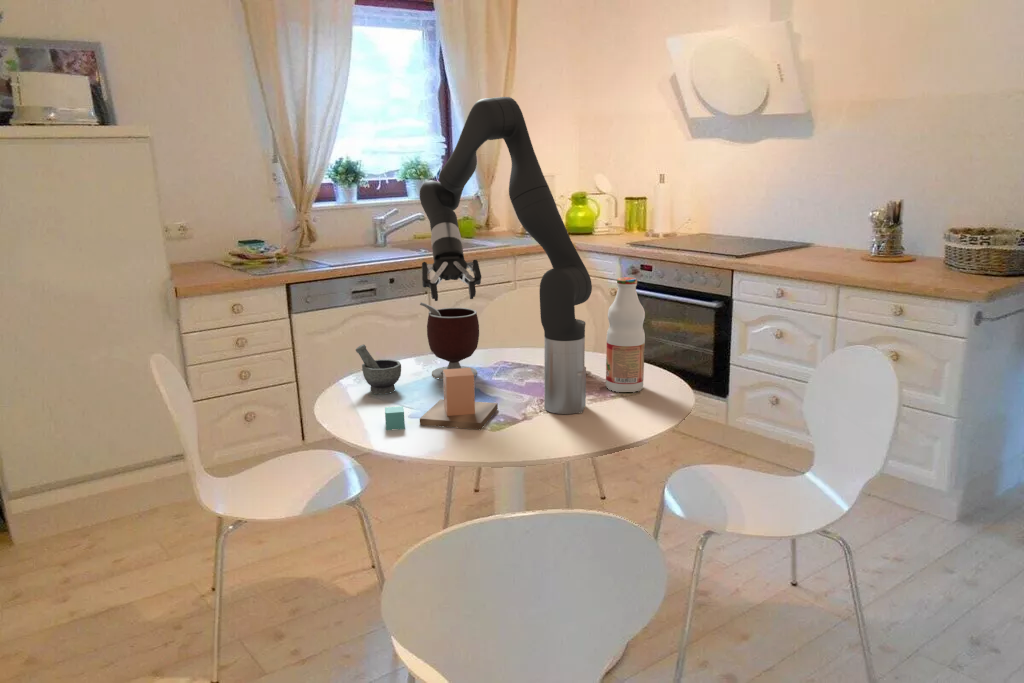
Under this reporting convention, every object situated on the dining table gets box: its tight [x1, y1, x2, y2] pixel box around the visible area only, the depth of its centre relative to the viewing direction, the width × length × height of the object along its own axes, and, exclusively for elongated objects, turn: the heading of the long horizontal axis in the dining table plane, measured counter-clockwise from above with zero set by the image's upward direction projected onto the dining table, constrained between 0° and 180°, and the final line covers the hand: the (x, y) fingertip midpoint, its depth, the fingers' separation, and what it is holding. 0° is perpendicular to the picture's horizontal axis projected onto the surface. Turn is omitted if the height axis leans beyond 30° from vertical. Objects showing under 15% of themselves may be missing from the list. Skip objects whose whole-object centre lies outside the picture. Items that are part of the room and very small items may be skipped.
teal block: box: [384, 405, 406, 431], centre depth 169 cm, size 4×4×4 cm
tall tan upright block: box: [442, 368, 476, 416], centre depth 174 cm, size 6×6×9 cm
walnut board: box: [419, 398, 498, 431], centre depth 175 cm, size 14×14×2 cm
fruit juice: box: [605, 276, 646, 393], centre depth 192 cm, size 9×9×28 cm
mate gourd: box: [419, 301, 480, 380], centre depth 207 cm, size 16×14×20 cm
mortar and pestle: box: [355, 344, 402, 395], centre depth 194 cm, size 11×9×12 cm
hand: (454, 298), depth 185 cm, fingers open, 8 cm apart
